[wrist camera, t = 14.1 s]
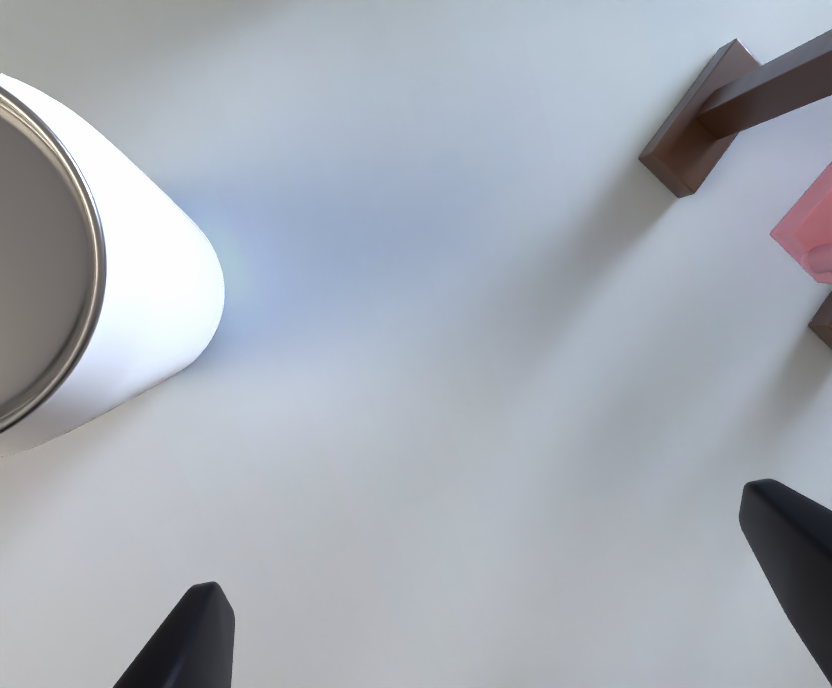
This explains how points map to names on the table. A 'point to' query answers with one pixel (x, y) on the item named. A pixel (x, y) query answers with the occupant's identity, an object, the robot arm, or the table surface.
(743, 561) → the table surface
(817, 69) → the stand
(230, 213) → the table surface
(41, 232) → the can
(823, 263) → the hanger
